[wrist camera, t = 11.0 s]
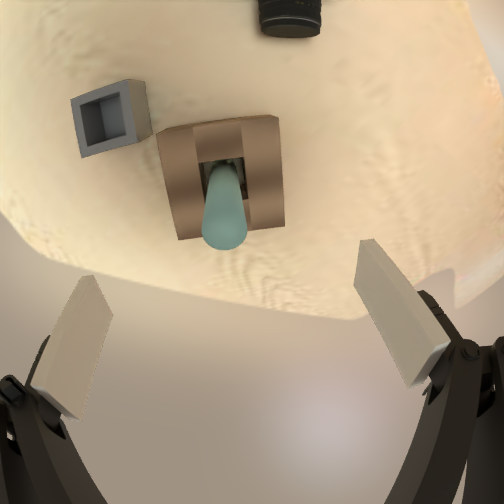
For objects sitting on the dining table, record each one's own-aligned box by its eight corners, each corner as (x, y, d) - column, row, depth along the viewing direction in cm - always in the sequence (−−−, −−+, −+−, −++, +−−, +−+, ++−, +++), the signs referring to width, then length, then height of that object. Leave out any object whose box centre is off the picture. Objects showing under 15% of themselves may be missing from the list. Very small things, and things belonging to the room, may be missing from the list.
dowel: (209, 159, 31) (197, 212, 17) (235, 155, 31) (244, 206, 17) (213, 183, 32) (205, 252, 19) (237, 179, 32) (249, 247, 19)
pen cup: (94, 97, 25) (70, 99, 20) (144, 82, 25) (127, 79, 20) (103, 147, 28) (81, 158, 23) (152, 134, 28) (137, 142, 23)
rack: (166, 129, 28) (155, 134, 24) (270, 114, 29) (278, 117, 24) (183, 221, 35) (178, 240, 30) (277, 209, 35) (284, 226, 31)
